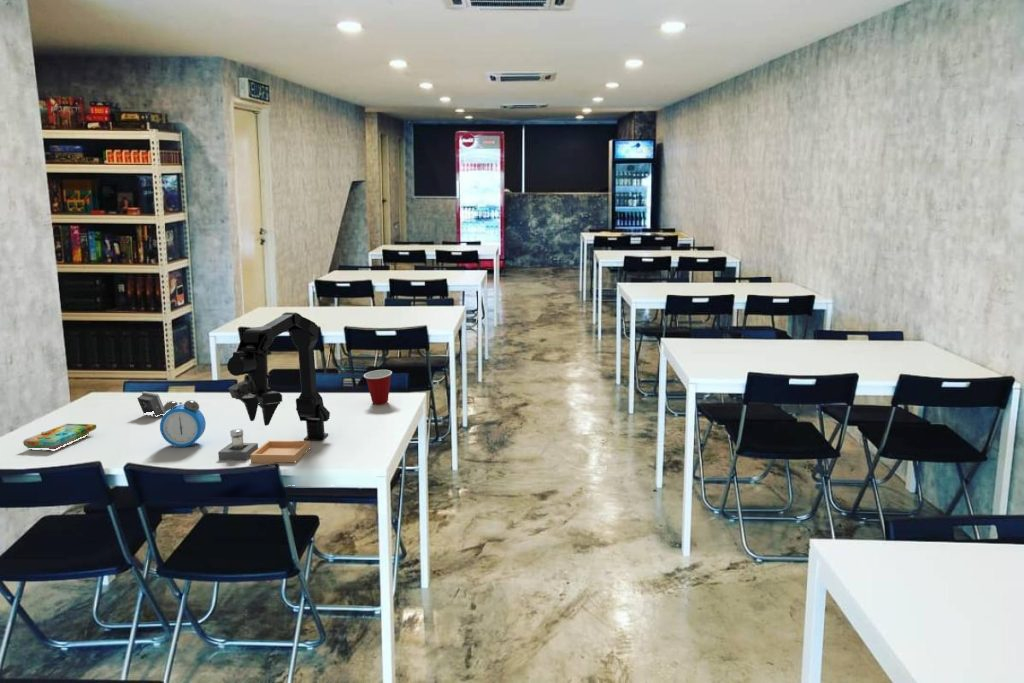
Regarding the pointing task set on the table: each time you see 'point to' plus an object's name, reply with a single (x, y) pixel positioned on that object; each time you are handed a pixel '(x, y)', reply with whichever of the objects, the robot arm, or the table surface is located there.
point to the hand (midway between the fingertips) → (259, 423)
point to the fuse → (237, 439)
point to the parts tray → (280, 451)
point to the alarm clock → (182, 423)
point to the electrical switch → (151, 403)
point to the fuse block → (237, 452)
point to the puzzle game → (59, 436)
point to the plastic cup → (378, 385)
